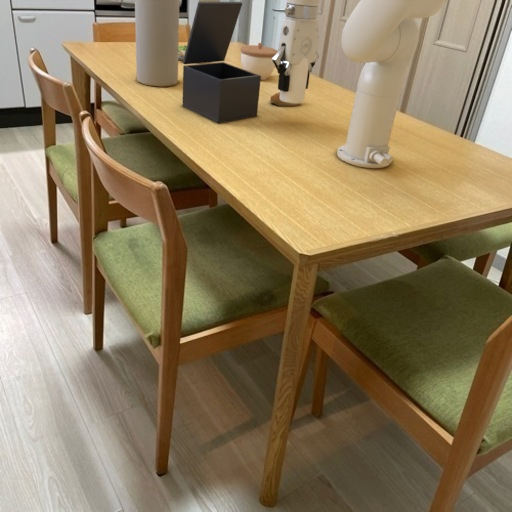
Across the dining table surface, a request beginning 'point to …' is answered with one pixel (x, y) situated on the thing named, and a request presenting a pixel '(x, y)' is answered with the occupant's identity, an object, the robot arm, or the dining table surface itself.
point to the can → (296, 83)
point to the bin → (220, 91)
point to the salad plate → (181, 52)
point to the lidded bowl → (258, 59)
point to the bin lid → (211, 31)
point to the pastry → (277, 101)
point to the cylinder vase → (157, 41)
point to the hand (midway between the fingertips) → (292, 88)
